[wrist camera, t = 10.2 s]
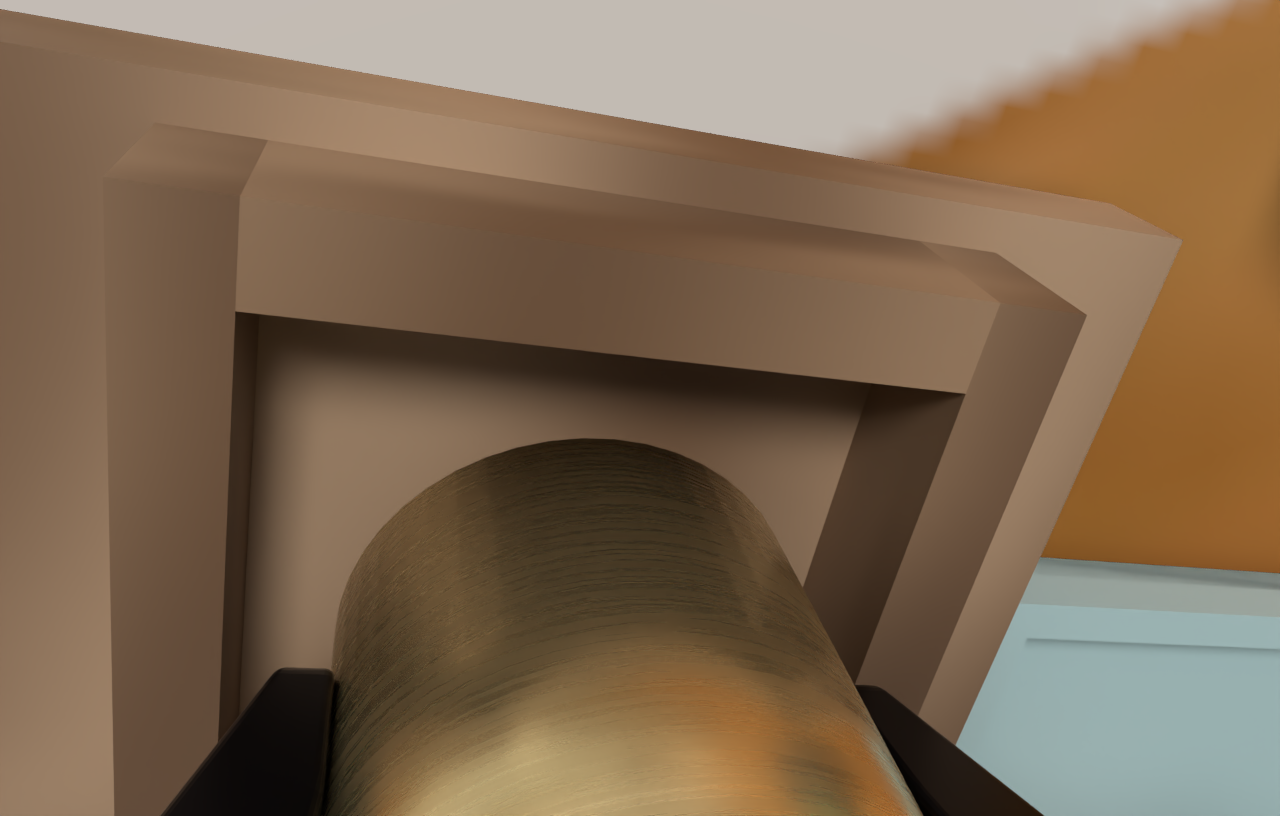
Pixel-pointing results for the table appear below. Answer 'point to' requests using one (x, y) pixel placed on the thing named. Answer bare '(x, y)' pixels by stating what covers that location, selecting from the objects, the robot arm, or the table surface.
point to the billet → (592, 653)
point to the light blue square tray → (1136, 692)
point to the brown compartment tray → (486, 371)
